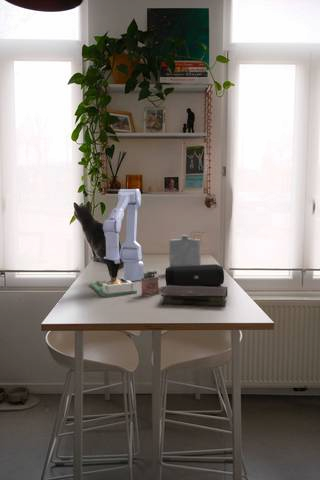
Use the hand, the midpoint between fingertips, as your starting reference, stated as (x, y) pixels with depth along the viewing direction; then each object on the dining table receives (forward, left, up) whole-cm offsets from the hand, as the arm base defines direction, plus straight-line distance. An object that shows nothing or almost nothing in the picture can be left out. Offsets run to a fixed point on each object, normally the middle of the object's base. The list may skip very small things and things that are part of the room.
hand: (113, 276), depth 207 cm
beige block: (0, 0, -5) cm, 5 cm away
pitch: (0, -2, -6) cm, 6 cm away
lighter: (-12, +14, -6) cm, 20 cm away
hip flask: (-44, -19, -6) cm, 48 cm away
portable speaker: (-35, +10, -6) cm, 37 cm away
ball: (0, +5, -3) cm, 6 cm away
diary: (-25, +31, -7) cm, 40 cm away
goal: (0, +6, -6) cm, 9 cm away
